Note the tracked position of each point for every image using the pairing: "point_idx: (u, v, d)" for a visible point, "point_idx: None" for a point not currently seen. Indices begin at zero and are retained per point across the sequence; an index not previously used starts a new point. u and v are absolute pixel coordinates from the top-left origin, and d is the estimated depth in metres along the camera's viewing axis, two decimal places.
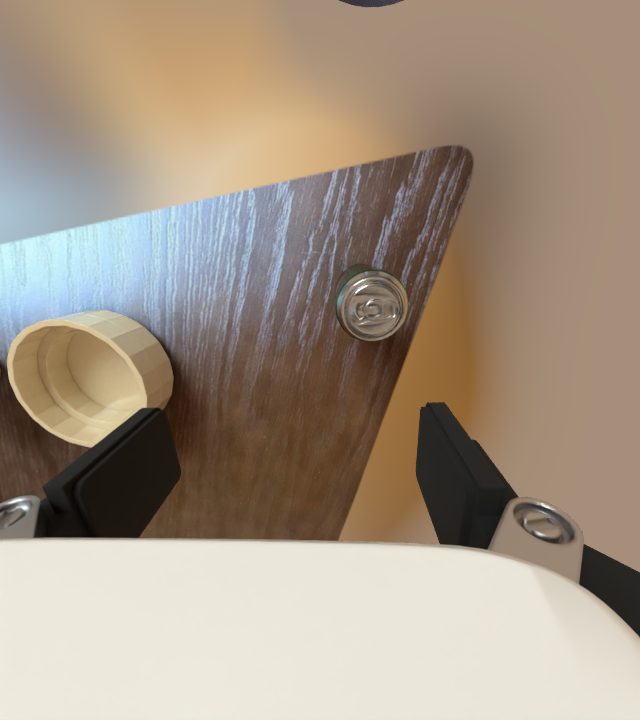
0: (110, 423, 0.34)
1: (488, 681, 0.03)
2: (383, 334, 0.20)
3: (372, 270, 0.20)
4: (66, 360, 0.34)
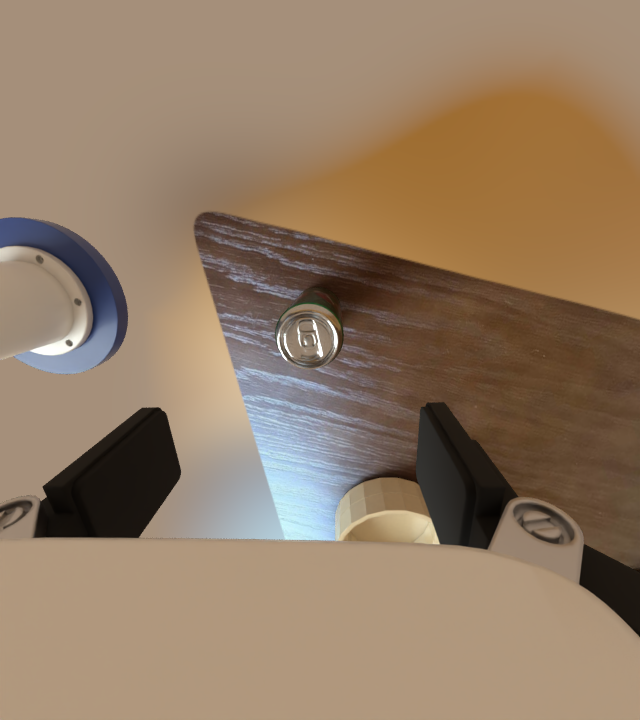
0: (435, 537, 0.38)
1: (488, 681, 0.03)
2: (332, 329, 0.20)
3: (275, 338, 0.22)
4: None
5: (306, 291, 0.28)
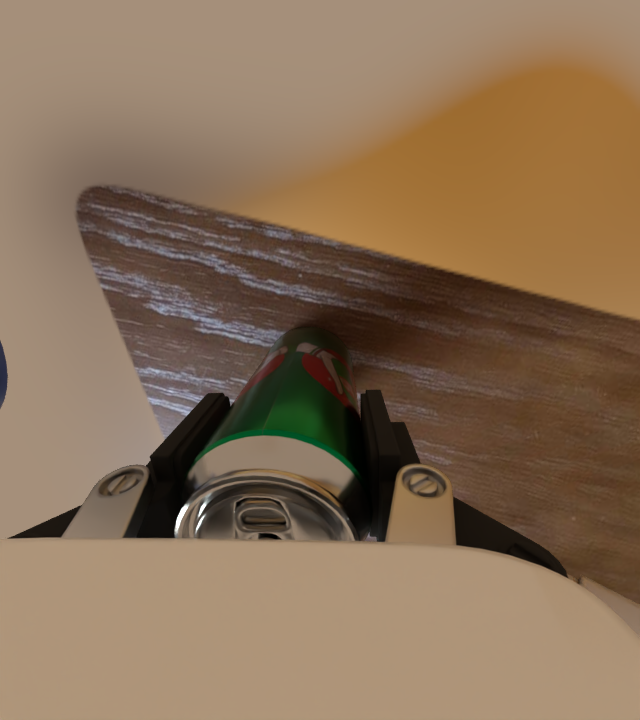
0: None
1: (488, 681, 0.03)
2: (342, 521, 0.07)
3: None
4: None
5: (286, 341, 0.14)
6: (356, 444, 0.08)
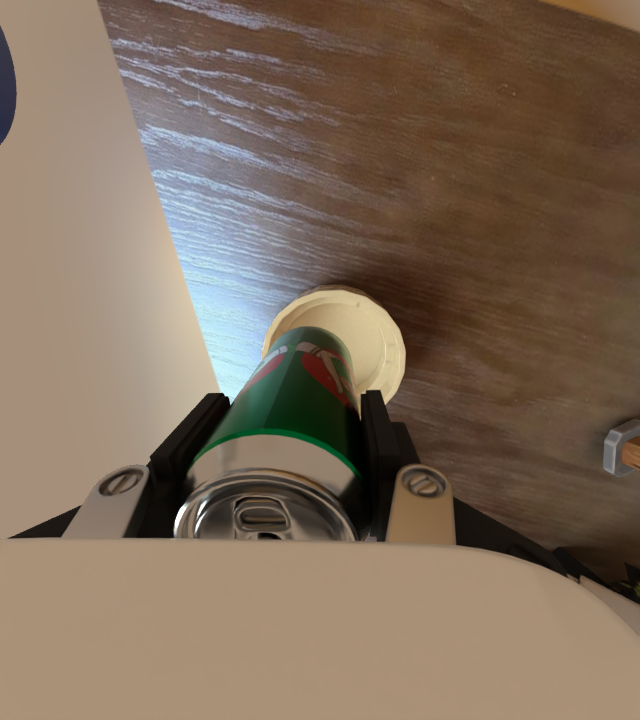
0: (386, 355, 0.31)
1: (488, 681, 0.03)
2: None
3: None
4: None
5: (285, 341, 0.14)
6: (356, 443, 0.08)
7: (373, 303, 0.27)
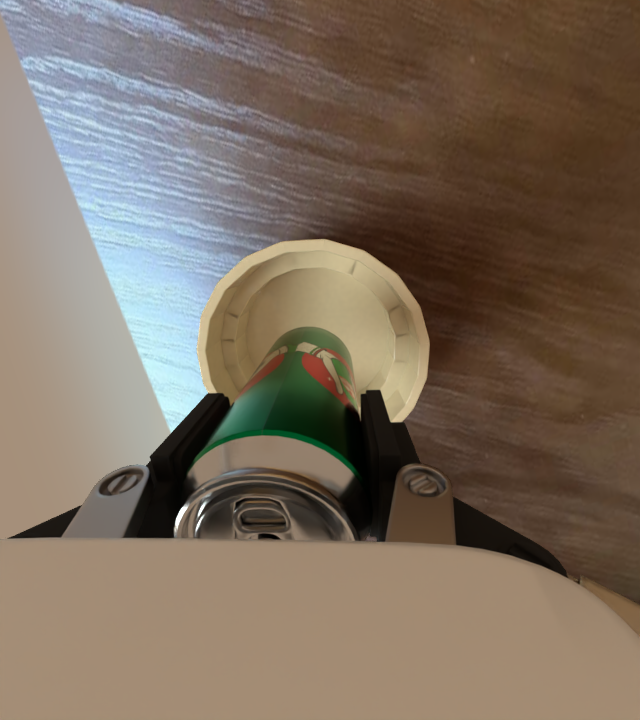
0: (397, 351, 0.20)
1: (488, 681, 0.03)
2: (342, 521, 0.06)
3: None
4: None
5: (285, 341, 0.14)
6: (356, 444, 0.08)
7: (376, 261, 0.16)
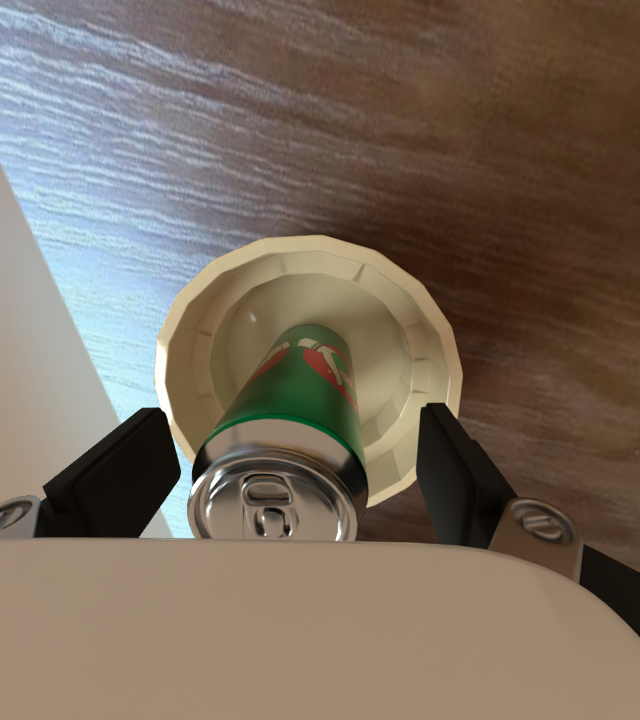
0: (414, 380, 0.16)
1: (488, 681, 0.03)
2: (340, 496, 0.07)
3: None
4: None
5: (287, 337, 0.15)
6: (354, 430, 0.09)
7: (393, 266, 0.11)
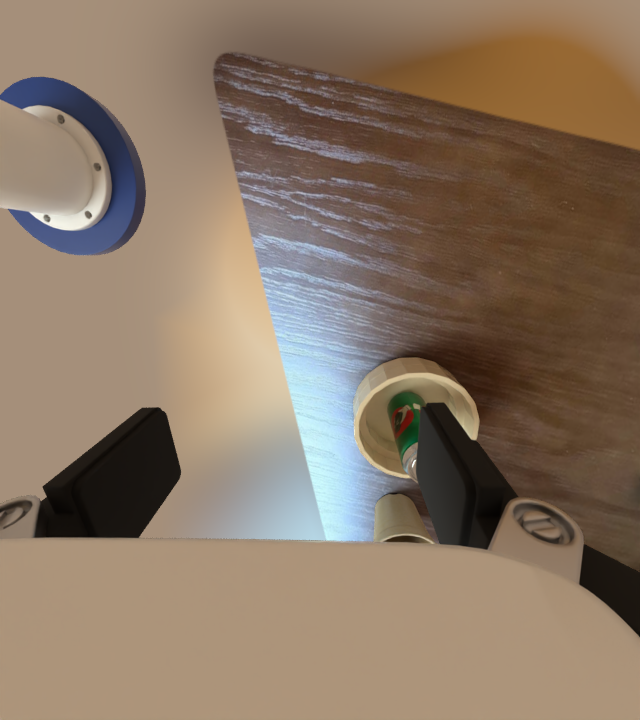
0: (457, 418, 0.36)
1: (488, 681, 0.03)
2: None
3: (401, 460, 0.29)
4: (395, 442, 0.41)
5: (404, 402, 0.36)
6: None
7: (454, 382, 0.32)
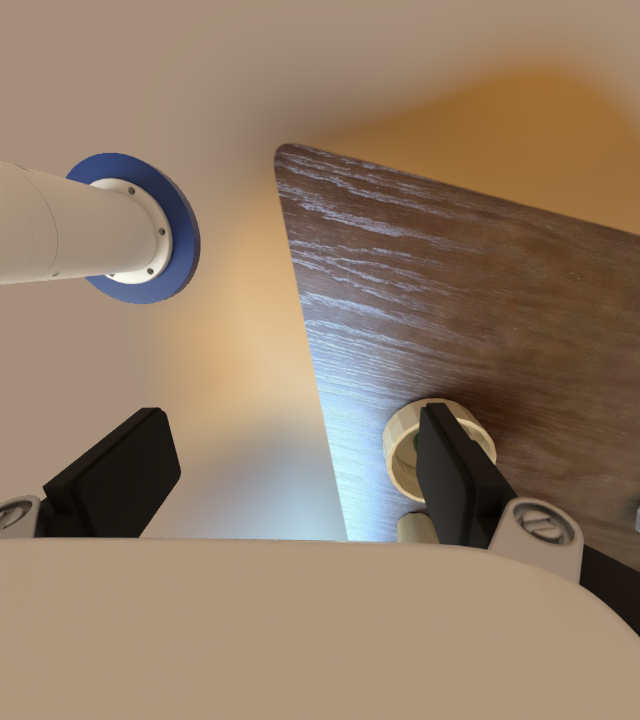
0: None
1: (488, 681, 0.03)
2: None
3: None
4: None
5: None
6: None
7: (476, 425, 0.37)
